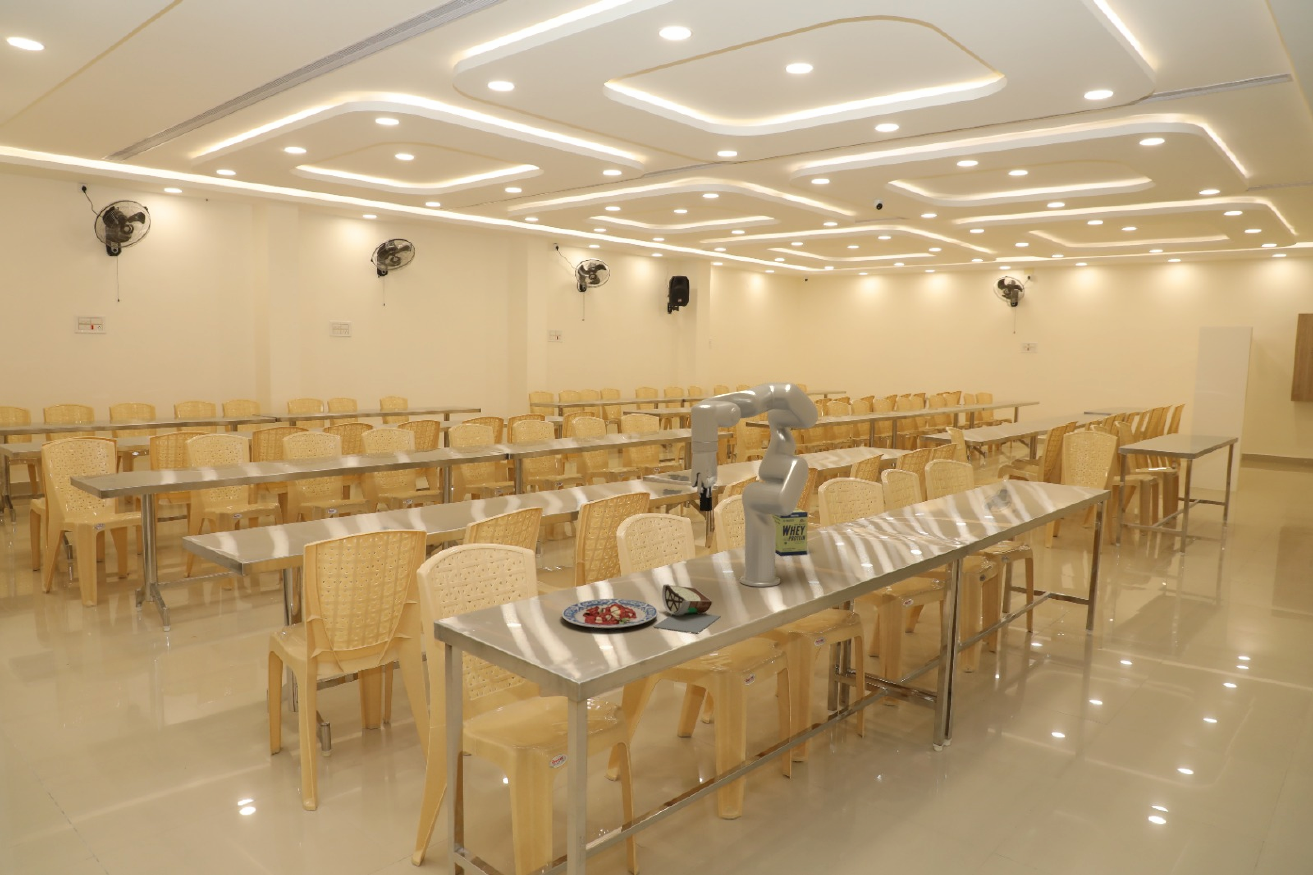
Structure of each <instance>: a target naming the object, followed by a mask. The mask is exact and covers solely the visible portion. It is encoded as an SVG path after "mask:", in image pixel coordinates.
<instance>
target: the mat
mask: <svg viewBox="0 0 1313 875" xmlns="http://www.w3.org/2000/svg"><path fill="white" fill-rule="evenodd" d="M720 618H721V616H720V615H715V614H707V613H684V614H683V615H681V616H676V615H673V614H670V615H669V616H668V617H666V618H664V619H663V620H661V621H660V622H658V623H656V624H654V626H653V627H654V629H659V628H661V629H662V630H666V629H668V631H673V630H674V631H675V632H681V633H687V632H691V633H690V634H694V633H698V632H700V633H701V632H703V631H704V630H705V629H706V628H708V627H709V626H710V624H711V623H712V624H713V623H715V622H716V621H718V620H719V619H720ZM712 624H711V625H712ZM703 629H704V630H703ZM698 634H699V633H698Z"/></svg>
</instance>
